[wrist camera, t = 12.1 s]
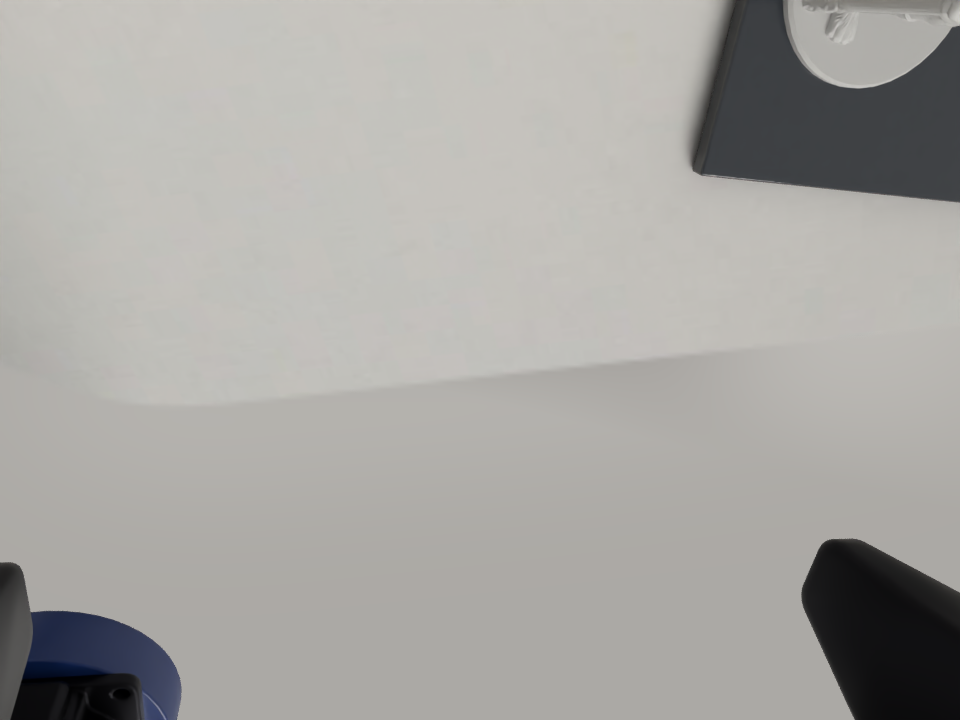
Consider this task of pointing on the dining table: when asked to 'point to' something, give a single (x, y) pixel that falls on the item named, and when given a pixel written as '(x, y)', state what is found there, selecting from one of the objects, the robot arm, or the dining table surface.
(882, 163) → the slate tile
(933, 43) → the figurine
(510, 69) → the dining table surface
